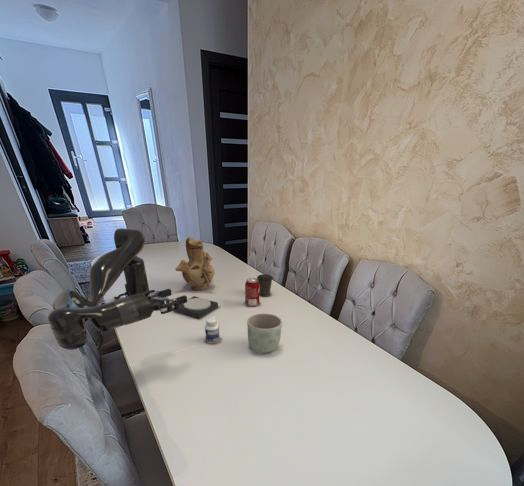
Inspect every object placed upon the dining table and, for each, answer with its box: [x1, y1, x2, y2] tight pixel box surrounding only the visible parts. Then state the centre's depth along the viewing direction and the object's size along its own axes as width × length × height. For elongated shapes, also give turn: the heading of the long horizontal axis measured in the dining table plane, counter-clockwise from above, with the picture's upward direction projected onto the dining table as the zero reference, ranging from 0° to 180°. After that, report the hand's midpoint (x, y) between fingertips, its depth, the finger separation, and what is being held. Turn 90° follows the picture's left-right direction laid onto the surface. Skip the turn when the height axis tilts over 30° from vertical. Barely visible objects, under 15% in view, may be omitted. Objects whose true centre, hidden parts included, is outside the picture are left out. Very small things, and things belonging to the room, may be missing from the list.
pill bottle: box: [204, 317, 221, 344], centre depth 116 cm, size 5×5×9 cm
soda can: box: [244, 277, 261, 307], centre depth 144 cm, size 7×7×12 cm
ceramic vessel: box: [174, 236, 215, 291], centre depth 157 cm, size 18×19×25 cm
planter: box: [246, 312, 283, 354], centre depth 112 cm, size 12×12×11 cm
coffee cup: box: [256, 273, 274, 297], centre depth 155 cm, size 8×8×10 cm
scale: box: [174, 295, 219, 320], centre depth 140 cm, size 14×14×3 cm
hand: (178, 295), depth 98 cm, fingers open, 8 cm apart
